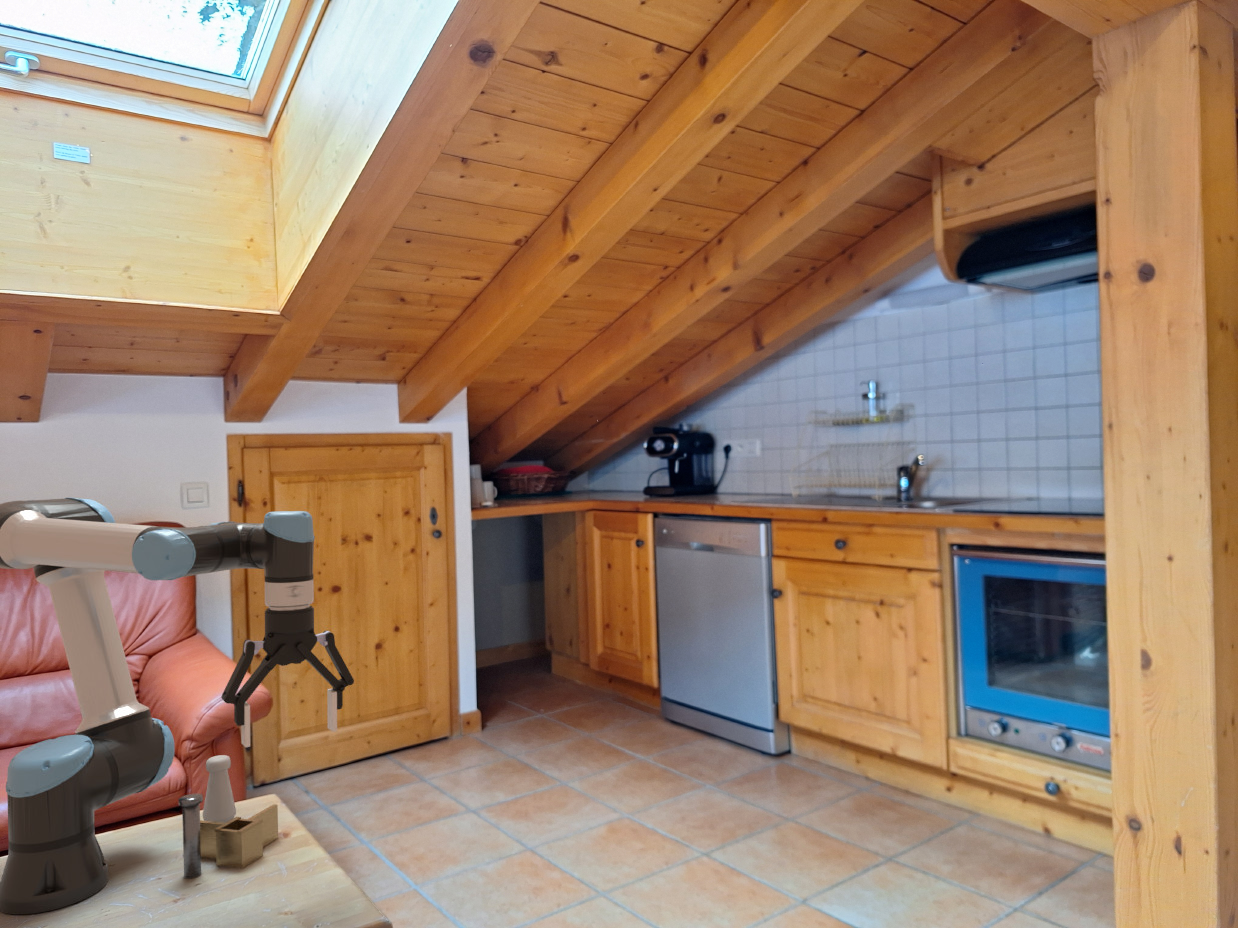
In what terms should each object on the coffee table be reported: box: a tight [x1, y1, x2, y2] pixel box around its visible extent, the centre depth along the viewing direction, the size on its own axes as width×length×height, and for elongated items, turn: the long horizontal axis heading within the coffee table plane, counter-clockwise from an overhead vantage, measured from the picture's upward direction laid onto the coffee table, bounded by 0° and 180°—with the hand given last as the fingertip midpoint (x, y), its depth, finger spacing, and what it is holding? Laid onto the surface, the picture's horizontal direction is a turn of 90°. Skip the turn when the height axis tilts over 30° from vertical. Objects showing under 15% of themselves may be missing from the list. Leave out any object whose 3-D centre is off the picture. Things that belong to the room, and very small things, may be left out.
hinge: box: [200, 803, 279, 869], centre depth 156 cm, size 12×12×6 cm
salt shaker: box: [202, 754, 237, 823], centre depth 167 cm, size 6×6×13 cm
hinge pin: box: [178, 793, 204, 879], centre depth 146 cm, size 4×4×13 cm
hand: (290, 737), depth 143 cm, fingers open, 13 cm apart
